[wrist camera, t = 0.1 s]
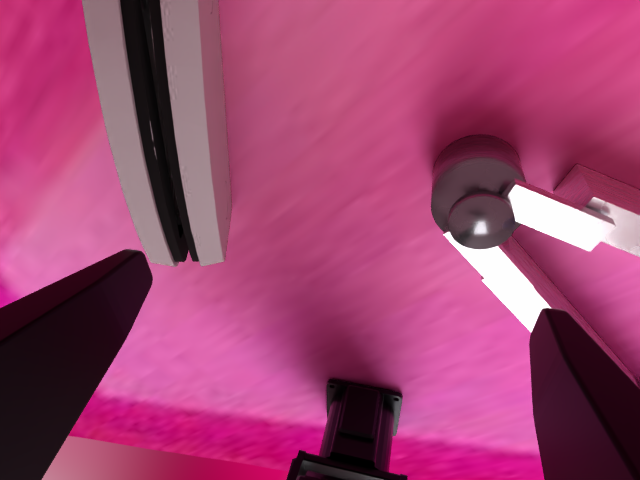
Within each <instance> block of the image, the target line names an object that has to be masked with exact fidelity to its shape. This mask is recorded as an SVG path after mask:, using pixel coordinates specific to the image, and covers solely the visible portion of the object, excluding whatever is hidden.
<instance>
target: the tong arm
mask: <svg viewBox="0 0 640 480" xmlns="http://www.w3.org/2000/svg"><path fill="white" fill-rule="evenodd" d="M553 193H554V194H552V193H550V192H547V191H545V190H542V189H540V188H538V187H535V186H533V185H530V184H528V183H525V182H523V181H521V180H518V179H516V178H514V179H513V180H512V182H511V183H510V184H509V186H508V187H507V188H506V190H505V191H504V192H503V194H502V196H503V197H505V198H506V199H507V200H508V201H509V202H510V204H511V205H512V208H513V211H514V215H515V221H517V222H519V223H522V224H524V225H526V226H529V227H531V228H534V229H536V230H539V231H541V232H543V233H546V234H548V235H551V236H553V237H556V238H558V239H560V240H563V241H565V242H568V243H570V244H573V245H575V246H578V247H580V248H582V249H585V250H587V251H591V250H592V249H593V248H594V247H595V246H596V245H597V244H598V243H599V242H600V241H602V242H604V243H607V244H609V245H612V246H614V247H617V248H619V249H621V250H624V251H626V252H629V253H631V254H634V255H636V256H639V257H640V190H639V189H637V188H634V187H632V186H630V185H627V184H625V183H622V182H620V181H617V180H615V179H613V178H610V177H608V176H605V175H603V174H600V173H598V172H596V171H593V170H591V169H588V168H586V167H584V166H581V165H579V164H576V165H575V166H574V167H573V169H572V170H571V171H570V172H569V173H568V175H567V176H566V177H565V178H564V179H563V181H562V182H561V183H560V184H559V185H558V187H557V188H556V189H555V190H554V191H553Z"/></svg>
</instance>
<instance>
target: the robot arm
mask: <svg viewBox="0 0 640 480" xmlns="http://www.w3.org/2000/svg"><path fill="white" fill-rule="evenodd" d="M152 281H153V277H152V273H151V270H150V268H149V265H148V262H147V260H146V257H145V255H144V253H143V252H141V251H137V250H130V249H125V250H122V251H120V252H118V253H116V254H114V255H112V256H110V257H108V258H105V259H103V260H101V261H99V262H97V263H95V264H93V265H91V266H89V267H86V268H84V269H82V270H80V271H78V272H76V273H74V274H72V275H69V276H67V277H65V278H63V279H61V280H59V281H57V282H55V283H53V284H50V285H48V286H46V287H44V288H42V289H40V290H38V291H36V292H33V293H31V294H29V295H27V296H25V297H23V298H21V299H19V300H17V301H14V302H12V303H10V304H8V305H6V306H4V307H2V308H0V480H42V478H43V476H44V475H45V473H46V471H47V470H48V468H49V466H50V465H51V463H52V461H53V460H54V458H55V456H56V455H57V453H58V451H59V450H60V448H61V446H62V445H63V443H64V441H65V440H66V438H67V436H68V435H69V433H70V431H71V430H72V428H73V426H74V425H75V423H76V421H77V420H78V418H79V417H80V415H81V413H82V412H83V410H84V408H85V407H86V405H87V403H88V402H89V400H90V398H91V397H92V395H93V393H94V392H95V390H96V388H97V387H98V385H99V383H100V382H101V380H102V378H103V377H104V375H105V373H106V372H107V370H108V368H109V367H110V365H111V363H112V362H113V360H114V358H115V357H116V355H117V354H118V352H119V350H120V349H121V347H122V345H123V343H124V342H125V340H126V338H127V336H128V334H129V332H130V330H131V328H132V326H133V324H134V322H135V320H136V317H137V315H138V313H139V311H140V309H141V307H142V305H143V303H144V300H145V298H146V296H147V294H148V292H149V290H150V288H151V285H152ZM529 346H530V365H531V384H532V402H533V415H534V422H535V429H536V434H537V440H538V445H539V451H540V456H541V462H542V467H543V473H544V479H545V480H640V388H639V387H638V386H637V385H636V384H635V383H634V382H633V381H632V380H631V379H630V378H629V376H628V375H627V374H626V373H625V372H624V371H623V370H622V369H621V368H620V367H619V366H618V365H617V364H616V363H615V362H614V361H613V360H612V358H611V357H610V356H609V355H608V354H607V353H606V352H605V351H604V350H603V349H602V348H601V347H600V346H599V345H598V344H597V343H596V341H595V340H594V339H593V338H592V337H591V336H590V335H589V334H588V333H587V332H586V331H585V330H584V329H583V328H582V327H581V326H580V324H579V323H578V322H577V321H576V320H575V319H574V318H573V317H572V316H571V315H570V314H569V313H568V312H567V311H565V310H561V309H554V308H543V309H542V310H541V311H540V313H539V316H538V318H537V320H536V323H535V325H534V328H533V330H532V332H531V336H530V343H529ZM402 397H403V396H402V394H401V393H399V392H395V391H390V390H385V389H380V388H375V387H370V386H365V385H360V384H355V383H349V382H344V381H339V380H334V379H329V380H328V382H327V423H326V427H325V432H324V436H323V440H322V444H321V448H320V453H319V456H318V455H314V454H309V453H306V451H302V450H299V453H298V456H297V458H295V459H292V463H291V466H290V470H289V473H288V477H287V480H407V475H403V474H400V475H398V474H394V473H389V465H390V455H391V446H392V436H395V435H396V433H397V427H398V422H399V416H400V410H401V404H402Z"/></svg>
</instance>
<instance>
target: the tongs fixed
mask: <svg viewBox="0 0 640 480" xmlns="http://www.w3.org/2000/svg"><path fill="white" fill-rule="evenodd" d="M514 178H516V179H518V180H521V181H523V182H525V183H526V180H525V176H524V173H523V170H522V166H521V163H520V160H519V157H518V155H517V153H516V151H515V150H514V149H513V148H512V147H511V146H510V145H509V144H508V143H507V142H505V141H503V140H502V139H499V138H497V137H494V136H489V135H472V136H467V137H464V138H461V139H459V140H457V141H455V142H453V143H452V144H450V145H449V146H448V147H446V148H445V149H444V150H443V151H442V152H441V154H440V155H439V157H438V158H437V160H436V162H435V165H434V169H433V180H432V198H431V211H432V215H433V218H434V220H435V222H436V224H437V225H438V226H439V227H440V229H441V230H443V231H444V233H443V235H444V236H445V237H446V238H447V239H448V240H449V241H450V242H451V243H452V244H453V245H454V246H455V247H456V248H457V249H458V251H459V252H460V253H461V254H462V255H463V256H464V257H465V258H466V259H467V260H468V261H469V262H470V263H471V264H472V265H473V266H474V267H475V269H476V270H477V271H478V272H479V273H480V274H481V278H482V281H483V282H484V283H485V284H486V285H487V286H488V287H489V288H490V289H491V291H492V292H493V293H494V294H495V295H496V296H497V297H498V298H499V299H500V300H501V301H502V302H503V303H504V304H505V305H506V306H507V307H508V308H509V310H510V311H511V312H512V313H513V314H514V315H515V316H516V317H517V318H518V319H519V320H520V321H521V322H522V323H523V324H524V325H525V326H526V327H527V329H528V330H529V331H530V332H532V330H533V328H534V325H535V323H536V320H537V318H538V316H539V313H540V311H541V310H542V309H543V308H554V309H561V310H565V311H567V312H568V313H569V314H570V315H571V316H572V317H573V318H574V319H575V320H576V321H577V322H578V323H579V324H580V326H581V327H582V328H583V329H584V330H585V331H586V332H587V333H588V334H589V335H590V336H591V337H592V338H593V339H594V340H595V341H596V343H597V344H598V345H599V346H600V347H601V348H602V349H603V350H604V351H605V352H606V353H607V354H608V355H609V356H610V357H611V358H612V360H613V361H614V362H615V363H616V364H617V365H618V366H619V367H620V368H621V369H622V370H623V371H624V372H625V373H626V374H627V375H628V376H629V378H630V379H631V380H632V381H633V382H634V383H635V384H636V385H637V386H638V387H639V388H640V383H639V381H638V380H637V379H636V378H635V377H634V376H633V374H632V373H631V372H630V371H629V370H628V369H627V368H626V366H625V365H624V364H623V363H622V362H621V361H620V360H619V358H618V357H617V356H616V355H615V354H614V353H613V352H612V350H611V349H610V348H609V347H608V346H607V345H606V343H605V342H604V341H603V340H602V339H601V338H600V337H599V335H598V334H597V333H596V332H595V331H594V330H593V329H592V327H591V326H590V325H589V324H588V323H587V322H586V321H585V319H584V318H583V317H582V316H581V315H580V314H579V312H578V311H577V310H576V309H575V308H574V307H573V306H572V304H571V303H570V302H569V301H568V300H567V299H566V298H565V296H564V295H563V294H562V293H561V292H560V291H559V290H558V288H557V287H556V286H555V285H554V284H553V283H552V282H551V280H550V279H549V278H548V277H547V276H546V275H545V273H544V272H543V271H542V270H541V269H540V268H539V267H538V265H537V264H536V263H535V262H534V261H533V260H532V259H531V257H530V256H529V255H528V254H527V253H526V252H525V251H524V249H523V248H522V247H521V246H520V245H519V244H518V242H517V241H516V240H515V239H514V238H513V237H512V236H511V235H512V233H513V231H514V230H515V229H516V228H518V227H519V226H520V225H521V223H519V222H517V221H515V215H514V211H513V208H512V205H511V204H510V202H509V201H508V200H507V199H506V198H505V197H503V196H502V194H503V192H504V191H505V190H506V188H507V187H508V186H509V184H510V183H511V182H512V180H513V179H514Z"/></svg>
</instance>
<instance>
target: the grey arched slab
mask: <svg viewBox="0 0 640 480" xmlns="http://www.w3.org/2000/svg"><path fill="white" fill-rule="evenodd" d="M82 4H83V10H84V17H85V23H86V30H87V36H88V42H89V48H90V53H91V58H92V63H93V68H94V73H95V78H96V84H97V89H98V94H99V99H100V104H101V109H102V114H103V118H104V122H105V127H106V131H107V135H108V140H109V144H110V147H111V151H112V155H113V158H114V162H115V166H116V170H117V173H118V177H119V180H120V184H121V187H122V191H123V194H124V197H125V200H126V203H127V206H128V209H129V212H130V215H131V218H132V220H133V223H134V226H135V229H136V232H137V234H138V236H139V239H140V241H141V243H142V245H143V248H144V250H145V252H146V254H147V256H148V258H149V260H150V261H151V263H156V264H162V265H168V266H174V267H176V266H177V265H178V263H179V262H184V261H185V260H186V258H187V254H188V251H189V252H190V255H191V258H192V261H199V262H200V265H201V266H206V265H211V264H215V263H220V262H224V261H225V257H226V249H227V242H228V235H229V227H230V220H231V213H232V199H231V184H230V169H229V154H228V139H227V124H226V109H225V94H224V79H223V64H222V49H221V34H220V19H219V4H218V0H82Z"/></svg>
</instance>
